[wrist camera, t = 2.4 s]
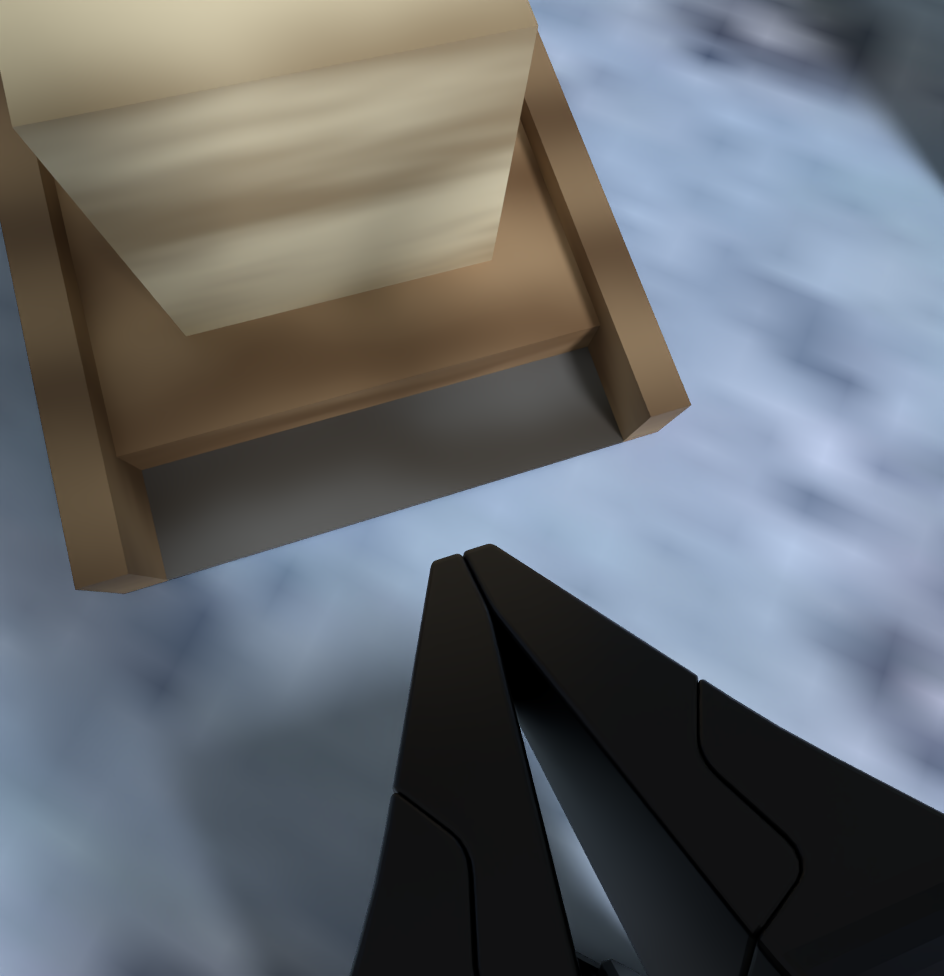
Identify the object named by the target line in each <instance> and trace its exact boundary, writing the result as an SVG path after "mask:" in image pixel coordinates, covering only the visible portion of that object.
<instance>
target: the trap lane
mask: <svg viewBox="0 0 944 976" xmlns="http://www.w3.org/2000/svg"><path fill="white" fill-rule="evenodd" d="M0 222H1V227H2V232H3V237H4V242H5V246H6V251H7V256H8V261H9V266H10V271H11V276H12V281H13V286H14V291H15V296H16V301H17V305H18V310H19V315H20V320H21V325H22V330H23V335H24V340H25V345H26V350H27V355H28V360H29V364H30V369H31V374H32V379H33V384H34V389H35V394H36V399H37V404H38V409H39V414H40V419H41V423H42V428H43V433H44V438H45V443H46V448H47V453H48V458H49V463H50V468H51V473H52V478H53V482H54V487H55V492H56V497H57V502H58V507H59V512H60V517H61V522H62V527H63V532H64V537H65V541H66V546H67V551H68V556H69V561H70V566H71V571H72V576H73V581H74V586H75V590H85V591H97V592H109V593H121V594H125V593H129V592H132V591H135V590H138V589H142V588H145V587H148V586H152V585H155V584H158V583H162V582H165V581H168V580H171V579H175V578H178V577H181V576H185V575H188V574H191V573H194V572H198V571H201V570H204V569H208V568H211V567H214V566H217V565H221V564H224V563H227V562H231V561H234V560H237V559H240V558H244V557H247V556H250V555H254V554H257V553H260V552H263V551H267V550H270V549H273V548H277V547H280V546H283V545H286V544H290V543H293V542H296V541H300V540H303V539H306V538H309V537H313V536H316V535H319V534H323V533H326V532H329V531H333V530H336V529H339V528H342V527H346V526H349V525H352V524H356V523H359V522H362V521H365V520H369V519H372V518H375V517H379V516H382V515H385V514H388V513H392V512H395V511H398V510H402V509H405V508H408V507H411V506H415V505H418V504H421V503H425V502H428V501H431V500H434V499H438V498H441V497H444V496H448V495H451V494H454V493H457V492H461V491H464V490H467V489H471V488H474V487H477V486H480V485H484V484H487V483H490V482H494V481H497V480H500V479H504V478H507V477H510V476H513V475H517V474H520V473H523V472H527V471H530V470H533V469H536V468H540V467H543V466H546V465H550V464H553V463H556V462H559V461H563V460H566V459H569V458H573V457H576V456H579V455H582V454H586V453H589V452H592V451H596V450H599V449H602V448H605V447H609V446H612V445H615V444H619V443H622V442H625V441H628V440H632V439H635V438H638V437H642V436H645V435H648V434H652V433H655V432H658V431H659V430H660V429H662V428H663V427H664V426H665V425H667V424H668V423H669V422H670V421H672V420H673V419H674V418H675V417H677V416H678V415H679V414H680V413H682V412H683V411H684V410H686V409H687V408H688V407H689V406H691V403H690V401H689V398H688V396H687V394H686V391H685V389H684V386H683V384H682V381H681V379H680V376H679V374H678V372H677V369H676V367H675V364H674V362H673V359H672V357H671V355H670V352H669V350H668V347H667V345H666V342H665V340H664V337H663V335H662V333H661V330H660V328H659V325H658V323H657V320H656V318H655V316H654V313H653V311H652V308H651V306H650V303H649V301H648V298H647V296H646V294H645V291H644V289H643V286H642V284H641V281H640V279H639V277H638V274H637V272H636V269H635V267H634V264H633V262H632V259H631V257H630V255H629V252H628V250H627V247H626V245H625V242H624V240H623V237H622V235H621V233H620V230H619V228H618V225H617V223H616V220H615V218H614V216H613V213H612V211H611V208H610V206H609V203H608V201H607V198H606V196H605V194H604V191H603V189H602V186H601V184H600V181H599V179H598V177H597V174H596V172H595V169H594V167H593V164H592V162H591V159H590V157H589V155H588V152H587V150H586V147H585V145H584V142H583V140H582V137H581V135H580V133H579V130H578V128H577V125H576V123H575V120H574V118H573V116H572V113H571V111H570V108H569V106H568V103H567V101H566V98H565V96H564V94H563V91H562V89H561V86H560V84H559V81H558V79H557V77H556V74H555V72H554V69H553V67H552V64H551V62H550V59H549V57H548V55H547V52H546V50H545V47H544V45H543V42H542V40H541V37H540V35H539V33H538V30H537V34H536V39H535V45H534V50H533V55H532V60H531V65H530V70H529V75H528V80H527V85H526V90H525V95H524V100H523V105H522V110H521V115H520V120H519V126H518V131H517V136H516V141H515V146H514V151H513V156H512V161H511V166H510V171H509V176H508V181H507V186H506V191H505V196H504V201H503V206H502V212H501V217H500V222H499V227H498V232H497V237H496V242H495V247H494V252H493V257H492V260H490V261H486V262H482V263H478V264H474V265H470V266H466V267H462V268H458V269H454V270H450V271H446V272H442V273H438V274H434V275H430V276H426V277H422V278H418V279H414V280H410V281H406V282H402V283H398V284H394V285H390V286H386V287H382V288H378V289H374V290H370V291H366V292H362V293H358V294H354V295H350V296H346V297H342V298H338V299H334V300H330V301H326V302H322V303H318V304H314V305H310V306H306V307H302V308H298V309H294V310H290V311H286V312H282V313H278V314H274V315H270V316H266V317H262V318H258V319H254V320H250V321H246V322H242V323H238V324H234V325H230V326H226V327H222V328H218V329H214V330H210V331H206V332H202V333H198V334H194V335H190V336H185V334H184V333H183V332H182V331H181V330H180V328H179V327H178V326H177V325H176V324H175V322H174V321H173V320H172V319H171V318H170V316H169V315H168V314H167V313H166V311H165V310H164V309H163V308H162V307H161V305H160V304H159V303H158V302H157V301H156V299H155V298H154V297H153V296H152V295H151V293H150V292H149V291H148V290H147V289H146V287H145V286H144V285H143V284H142V283H141V281H140V280H139V279H138V278H137V277H136V275H135V274H134V273H133V272H132V271H131V269H130V268H129V267H128V266H127V265H126V263H125V262H124V261H123V260H122V259H121V257H120V256H119V255H118V254H117V253H116V251H115V250H114V249H113V248H112V247H111V245H110V244H109V243H108V242H107V241H106V239H105V238H104V237H103V236H102V235H101V233H100V232H99V231H98V230H97V229H96V227H95V226H94V225H93V224H92V223H91V221H90V220H89V219H88V218H87V216H86V215H85V214H84V213H83V212H82V210H81V209H80V208H79V207H78V206H77V204H76V203H75V202H74V201H73V200H72V198H71V197H70V196H69V195H68V194H67V192H66V191H65V190H64V189H63V188H62V186H61V185H60V184H59V183H58V182H57V180H56V179H55V178H54V177H53V176H52V174H51V173H50V172H49V171H48V170H47V168H46V167H45V166H44V165H43V164H42V162H41V161H40V160H39V159H38V158H37V156H36V155H35V154H34V153H33V152H32V150H31V149H30V148H29V147H28V146H27V144H26V143H25V142H24V141H23V140H22V138H21V137H20V136H19V135H18V134H17V132H16V131H15V130H14V129H13V128H12V124H11V119H10V114H9V110H8V105H7V100H6V95H5V91H4V86H3V81H2V77H1V72H0Z"/></svg>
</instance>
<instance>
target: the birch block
mask: <svg viewBox="0 0 944 976" xmlns="http://www.w3.org/2000/svg"><path fill="white" fill-rule="evenodd" d="M537 29H538V24H537V21H536V19H535V16H534V14H533V11H532V9H531V7H530V4H529V2H528V0H0V72H1V77H2V81H3V86H4V91H5V95H6V100H7V105H8V110H9V114H10V119H11V124H12V128H13V129H14V130H15V131H16V132H17V134H18V135H19V136H20V137H21V138H22V140H23V141H24V142H25V143H26V144H27V146H28V147H29V148H30V149H31V150H32V152H33V153H34V154H35V155H36V156H37V158H38V159H39V160H40V161H41V162H42V164H43V165H44V166H45V167H46V168H47V170H48V171H49V172H50V173H51V174H52V176H53V177H54V178H55V179H56V180H57V182H58V183H59V184H60V185H61V186H62V188H63V189H64V190H65V191H66V192H67V194H68V195H69V196H70V197H71V198H72V200H73V201H74V202H75V203H76V204H77V206H78V207H79V208H80V209H81V210H82V212H83V213H84V214H85V215H86V216H87V218H88V219H89V220H90V221H91V223H92V224H93V225H94V226H95V227H96V229H97V230H98V231H99V232H100V233H101V235H102V236H103V237H104V238H105V239H106V241H107V242H108V243H109V244H110V245H111V247H112V248H113V249H114V250H115V251H116V253H117V254H118V255H119V256H120V257H121V259H122V260H123V261H124V262H125V263H126V265H127V266H128V267H129V268H130V269H131V271H132V272H133V273H134V274H135V275H136V277H137V278H138V279H139V280H140V281H141V283H142V284H143V285H144V286H145V287H146V289H147V290H148V291H149V292H150V293H151V295H152V296H153V297H154V298H155V299H156V301H157V302H158V303H159V304H160V305H161V307H162V308H163V309H164V310H165V311H166V313H167V314H168V315H169V316H170V318H171V319H172V320H173V321H174V322H175V324H176V325H177V326H178V327H179V328H180V330H181V331H182V332H183V333H184V334H185V336H190V335H194V334H198V333H202V332H206V331H210V330H214V329H218V328H222V327H226V326H230V325H234V324H238V323H242V322H246V321H250V320H254V319H258V318H262V317H266V316H270V315H274V314H278V313H282V312H286V311H290V310H294V309H298V308H302V307H306V306H310V305H314V304H318V303H322V302H326V301H330V300H334V299H338V298H342V297H346V296H350V295H354V294H358V293H362V292H366V291H370V290H374V289H378V288H382V287H386V286H390V285H394V284H398V283H402V282H406V281H410V280H414V279H418V278H422V277H426V276H430V275H434V274H438V273H442V272H446V271H450V270H454V269H458V268H462V267H466V266H470V265H474V264H478V263H482V262H486V261H490V260H492V257H493V252H494V247H495V242H496V237H497V232H498V227H499V222H500V217H501V212H502V206H503V201H504V196H505V191H506V186H507V181H508V176H509V171H510V166H511V161H512V156H513V151H514V146H515V141H516V136H517V131H518V126H519V120H520V115H521V110H522V105H523V100H524V95H525V90H526V85H527V80H528V75H529V70H530V65H531V60H532V55H533V50H534V45H535V39H536V34H537Z"/></svg>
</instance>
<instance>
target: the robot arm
mask: <svg viewBox="0 0 944 976" xmlns="http://www.w3.org/2000/svg"><path fill="white" fill-rule="evenodd" d="M519 725H520V726H519ZM520 727H521V729H522V731H523V733H524V735H525V737H526V739H527V740H528V742H529V744H530V746H531V748H532V750H533V752H534V754H535V756H536V758H537V760H538V762H539V764H540V766H541V768H542V770H543V772H544V774H545V776H546V778H547V780H548V782H549V783H550V785H551V787H552V789H553V791H554V793H555V795H556V797H557V799H558V801H559V803H560V805H561V807H562V809H563V811H564V813H565V815H566V817H567V819H568V821H569V823H570V824H571V826H572V828H573V830H574V832H575V834H576V836H577V838H578V840H579V842H580V844H581V846H582V848H583V850H584V852H585V854H586V856H587V858H588V860H589V862H590V864H591V866H592V867H593V869H594V871H595V873H596V875H597V877H598V879H599V881H600V883H601V885H602V887H603V889H604V891H605V893H606V895H607V897H608V899H609V901H610V903H611V905H612V907H613V908H614V910H615V912H616V914H617V916H618V918H619V920H620V922H621V924H622V926H623V928H624V930H625V932H626V934H627V936H628V938H629V940H630V942H631V944H632V946H633V948H634V949H635V951H636V953H637V955H638V957H639V959H640V961H641V963H642V965H643V967H644V969H645V971H646V973H647V975H648V976H944V813H942V812H940V811H938V810H936V809H934V808H932V807H930V806H928V805H926V804H924V803H922V802H920V801H919V800H917V799H915V798H913V797H911V796H909V795H907V794H905V793H903V792H901V791H899V790H897V789H895V788H894V787H892V786H890V785H888V784H886V783H884V782H882V781H880V780H878V779H876V778H874V777H872V776H871V775H869V774H867V773H865V772H863V771H861V770H859V769H857V768H855V767H853V766H851V765H849V764H847V763H846V762H844V761H842V760H840V759H838V758H836V757H834V756H832V755H830V754H829V753H827V752H825V751H823V750H821V749H820V748H818V747H816V746H814V745H812V744H810V743H809V742H807V741H805V740H803V739H801V738H799V737H798V736H796V735H794V734H792V733H790V732H789V731H787V730H785V729H783V728H781V727H779V726H778V725H776V724H774V723H773V722H771V721H770V720H768V719H766V718H765V717H763V716H761V715H760V714H758V713H756V712H755V711H753V710H752V709H750V708H748V707H747V706H745V705H743V704H742V703H740V702H738V701H737V700H735V699H733V698H732V697H730V696H729V695H727V694H726V693H724V692H723V691H721V690H719V689H718V688H716V687H715V686H713V685H712V684H710V683H709V682H707V681H706V680H703V679H702V680H700V681H699V682H698V677H697V675H696V674H694V673H693V672H691V671H690V670H688V669H686V668H685V667H683V666H682V665H680V664H679V663H677V662H676V661H674V660H672V659H671V658H669V657H668V656H666V655H665V654H663V653H662V652H660V651H658V650H657V649H655V648H654V647H652V646H651V645H649V644H648V643H646V642H644V641H643V640H641V639H640V638H638V637H637V636H635V635H634V634H632V633H630V632H629V631H627V630H626V629H624V628H623V627H621V626H620V625H618V624H616V623H615V622H613V621H612V620H610V619H609V618H607V617H606V616H604V615H603V614H601V613H599V612H598V611H596V610H595V609H593V608H592V607H590V606H589V605H587V604H585V603H584V602H582V601H581V600H579V599H578V598H576V597H575V596H573V595H571V594H570V593H568V592H567V591H565V590H564V589H562V588H561V587H559V586H557V585H556V584H554V583H553V582H551V581H550V580H548V579H547V578H545V577H543V576H542V575H540V574H539V573H537V572H536V571H534V570H533V569H531V568H529V567H528V566H526V565H525V564H523V563H522V562H520V561H519V560H517V559H515V558H514V557H512V556H511V555H509V554H508V553H506V552H505V551H503V550H502V549H500V548H498V547H497V546H495V545H493V544H486V545H483V546H480V547H477V548H473V549H470V550H467V551H465V553H464V555H463V556H462V555H460V554H455V555H451V556H448V557H445V558H442V559H439V560H436V561H434V562H433V563H432V565H431V568H430V574H429V580H428V586H427V591H426V597H425V603H424V609H423V615H422V620H421V626H420V632H419V638H418V644H417V650H416V655H415V661H414V667H413V673H412V679H411V684H410V690H409V696H408V702H407V708H406V713H405V719H404V725H403V731H402V737H401V742H400V748H399V754H398V760H397V766H396V771H395V777H394V783H393V791H394V794H392V796H391V798H390V804H389V810H388V816H387V821H386V827H385V833H384V838H383V842H382V847H381V852H380V857H379V862H378V867H377V872H376V877H375V881H374V886H373V890H372V894H371V898H370V902H369V905H368V909H367V913H366V917H365V921H364V925H363V928H362V932H361V936H360V940H359V944H358V947H357V951H356V955H355V958H354V962H353V965H352V969H351V972H350V975H349V976H642V975H641V974H639V973H637V972H635V971H633V970H631V969H629V968H627V967H625V966H624V965H622V964H620V963H618V962H616V961H614V960H612V959H609V960H605V961H602V962H601V965H600V964H598V963H597V962H595V961H593V960H591V959H589V958H587V957H585V956H583V955H582V954H580V953H578V952H576V951H575V948H574V944H573V940H572V936H571V932H570V928H569V924H568V920H567V916H566V912H565V908H564V903H563V899H562V895H561V891H560V887H559V883H558V879H557V875H556V871H555V867H554V863H553V859H552V855H551V851H550V847H549V843H548V839H547V835H546V831H545V827H544V823H543V819H542V815H541V811H540V807H539V802H538V798H537V794H536V790H535V786H534V782H533V778H532V774H531V770H530V766H529V762H528V758H527V754H526V750H525V746H524V742H523V738H522V734H521V730H520Z"/></svg>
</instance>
